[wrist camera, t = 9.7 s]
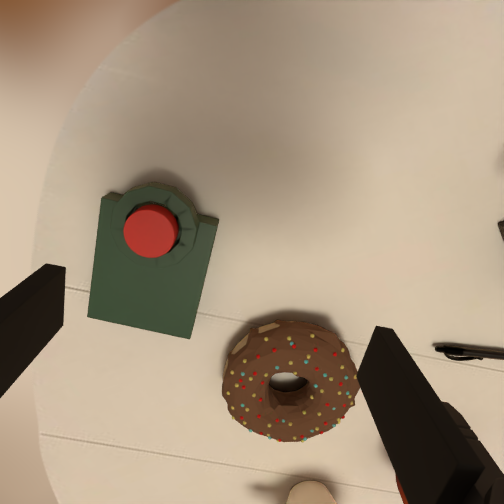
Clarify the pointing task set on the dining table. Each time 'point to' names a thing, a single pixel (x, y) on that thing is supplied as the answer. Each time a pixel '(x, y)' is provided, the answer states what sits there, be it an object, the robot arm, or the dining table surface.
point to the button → (151, 231)
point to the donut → (300, 364)
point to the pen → (469, 353)
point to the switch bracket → (501, 228)
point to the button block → (150, 265)
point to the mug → (310, 494)
